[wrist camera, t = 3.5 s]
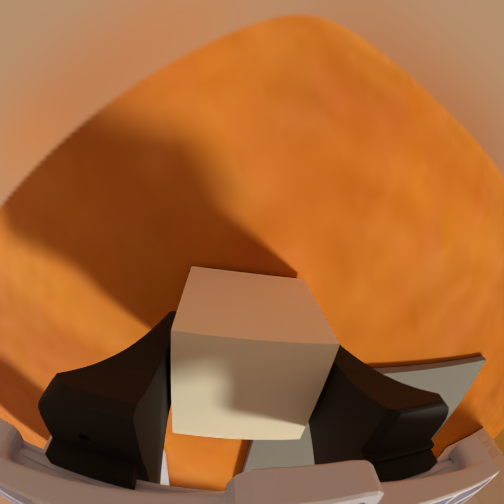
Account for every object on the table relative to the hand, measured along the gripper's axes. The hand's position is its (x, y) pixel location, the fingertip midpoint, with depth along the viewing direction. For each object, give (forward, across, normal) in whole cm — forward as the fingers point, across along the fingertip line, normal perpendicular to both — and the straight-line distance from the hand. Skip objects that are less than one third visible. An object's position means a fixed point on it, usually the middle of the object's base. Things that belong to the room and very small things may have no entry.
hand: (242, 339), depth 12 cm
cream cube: (+1, 0, 0) cm, 1 cm away
